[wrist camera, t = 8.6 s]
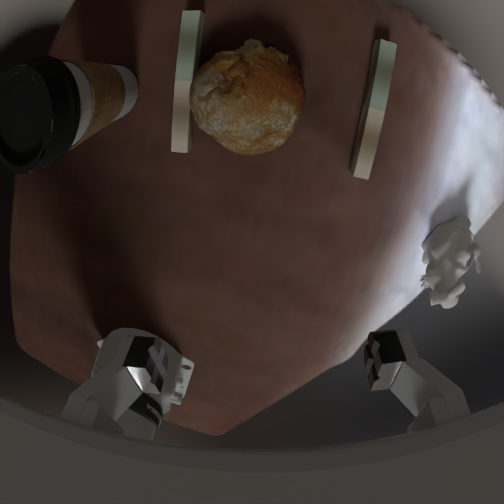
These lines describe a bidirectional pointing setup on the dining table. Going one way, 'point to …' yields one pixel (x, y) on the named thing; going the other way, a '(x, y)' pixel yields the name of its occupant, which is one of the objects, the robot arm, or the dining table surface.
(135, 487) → the robot arm
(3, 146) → the coffee cup
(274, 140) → the bread roll
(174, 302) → the dining table surface
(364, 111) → the channel
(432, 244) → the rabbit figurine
